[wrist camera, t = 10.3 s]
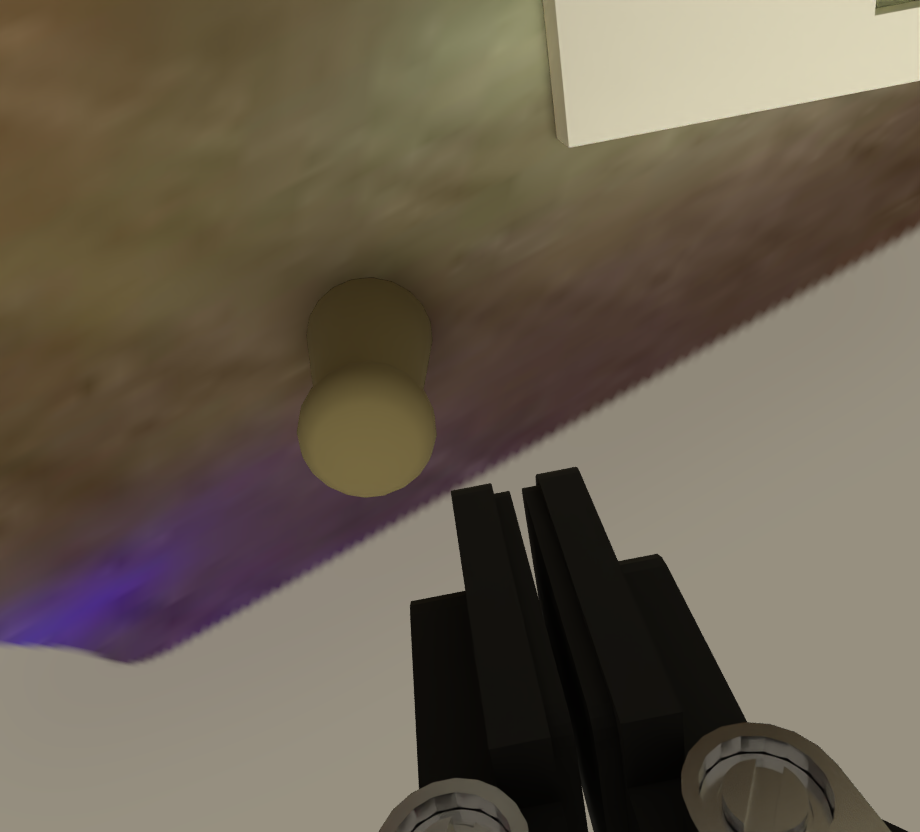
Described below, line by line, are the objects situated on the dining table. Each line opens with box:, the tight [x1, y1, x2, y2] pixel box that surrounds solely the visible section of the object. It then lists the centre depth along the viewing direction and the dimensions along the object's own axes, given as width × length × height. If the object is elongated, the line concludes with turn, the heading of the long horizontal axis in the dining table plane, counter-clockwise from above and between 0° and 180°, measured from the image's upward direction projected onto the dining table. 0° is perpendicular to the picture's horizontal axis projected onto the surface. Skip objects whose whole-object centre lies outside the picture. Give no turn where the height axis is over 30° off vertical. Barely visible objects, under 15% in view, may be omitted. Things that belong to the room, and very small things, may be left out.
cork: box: [297, 278, 436, 497], centre depth 33 cm, size 6×6×11 cm
